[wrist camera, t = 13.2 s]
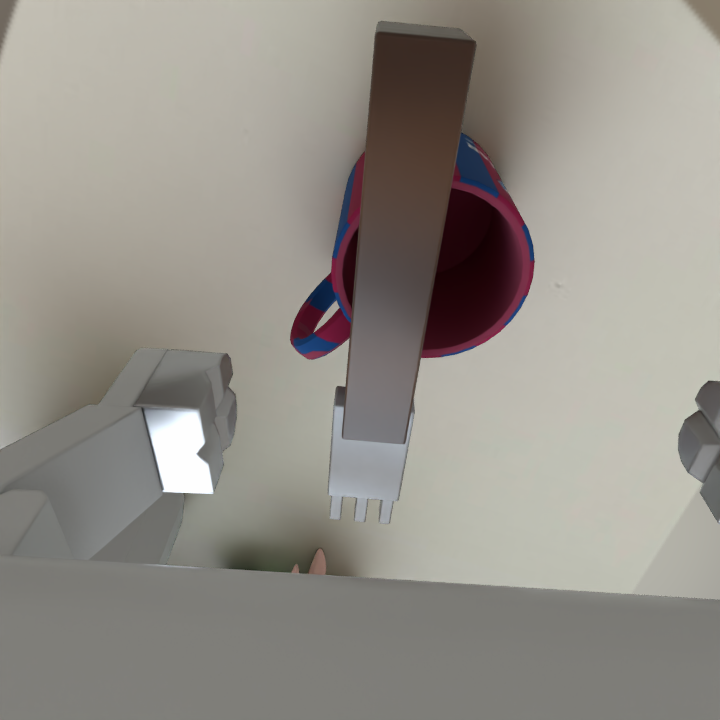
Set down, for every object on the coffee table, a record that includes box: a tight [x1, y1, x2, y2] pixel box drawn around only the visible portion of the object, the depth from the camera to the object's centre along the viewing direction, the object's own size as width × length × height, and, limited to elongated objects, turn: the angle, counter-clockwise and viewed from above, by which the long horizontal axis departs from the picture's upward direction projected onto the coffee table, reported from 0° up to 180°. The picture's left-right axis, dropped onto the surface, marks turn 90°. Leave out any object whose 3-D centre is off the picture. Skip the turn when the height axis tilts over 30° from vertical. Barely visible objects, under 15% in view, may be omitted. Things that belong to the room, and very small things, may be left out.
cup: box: [290, 133, 535, 359], centre depth 22 cm, size 7×10×7 cm
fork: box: [328, 21, 476, 524], centre depth 18 cm, size 19×3×3 cm, turn 175°
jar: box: [89, 492, 185, 565], centre depth 28 cm, size 10×10×18 cm
